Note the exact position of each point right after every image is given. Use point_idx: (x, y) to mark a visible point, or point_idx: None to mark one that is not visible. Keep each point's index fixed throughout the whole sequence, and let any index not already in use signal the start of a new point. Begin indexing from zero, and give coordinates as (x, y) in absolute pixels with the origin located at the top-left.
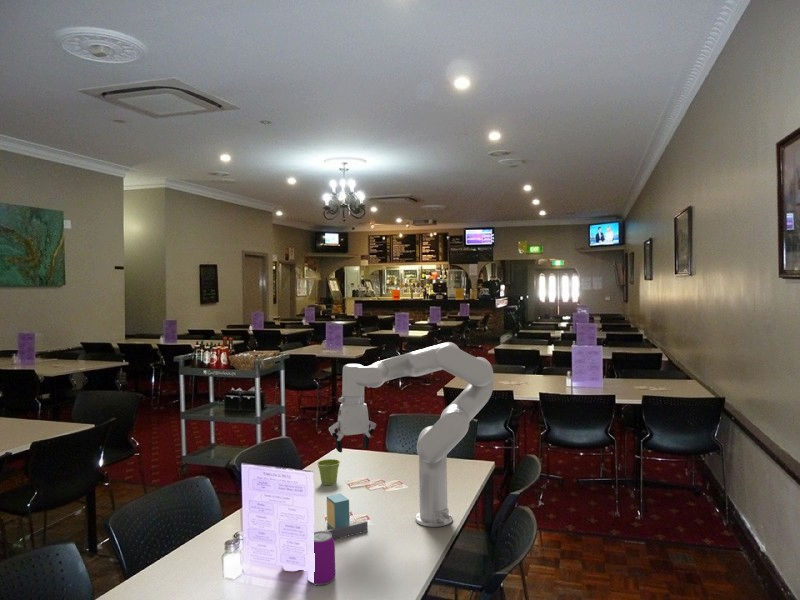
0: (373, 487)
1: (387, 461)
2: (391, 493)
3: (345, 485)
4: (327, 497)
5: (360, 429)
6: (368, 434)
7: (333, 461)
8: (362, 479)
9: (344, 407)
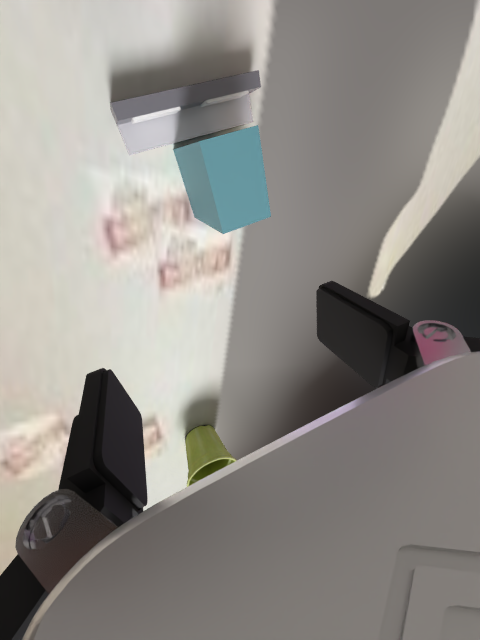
0: None
1: None
2: (35, 399)
3: (167, 430)
4: (269, 207)
5: (264, 573)
6: (55, 540)
7: None
8: None
9: None
